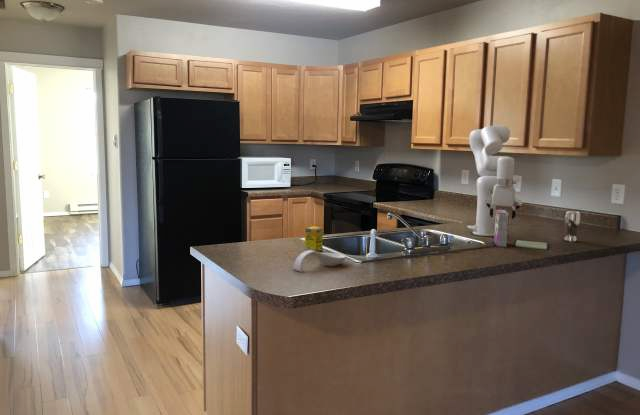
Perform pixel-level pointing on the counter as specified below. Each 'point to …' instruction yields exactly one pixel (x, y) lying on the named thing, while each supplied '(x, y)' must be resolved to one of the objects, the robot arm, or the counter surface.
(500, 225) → the candy bar box
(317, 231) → the supplement box
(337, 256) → the spoon rest
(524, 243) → the mat
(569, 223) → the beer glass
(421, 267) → the counter surface
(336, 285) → the counter surface
